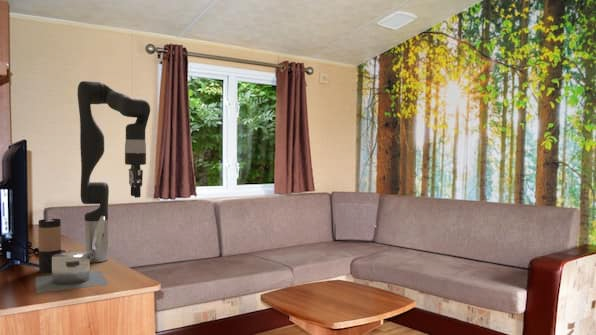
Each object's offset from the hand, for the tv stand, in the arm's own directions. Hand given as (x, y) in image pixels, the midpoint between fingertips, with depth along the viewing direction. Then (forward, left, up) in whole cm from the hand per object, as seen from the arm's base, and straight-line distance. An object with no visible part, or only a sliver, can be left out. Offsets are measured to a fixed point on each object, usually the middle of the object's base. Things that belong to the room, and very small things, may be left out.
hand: (135, 196), depth 176 cm
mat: (0, -22, -30) cm, 37 cm away
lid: (0, -14, -13) cm, 19 cm away
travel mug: (-19, -28, -30) cm, 45 cm away
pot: (0, -22, -29) cm, 36 cm away
